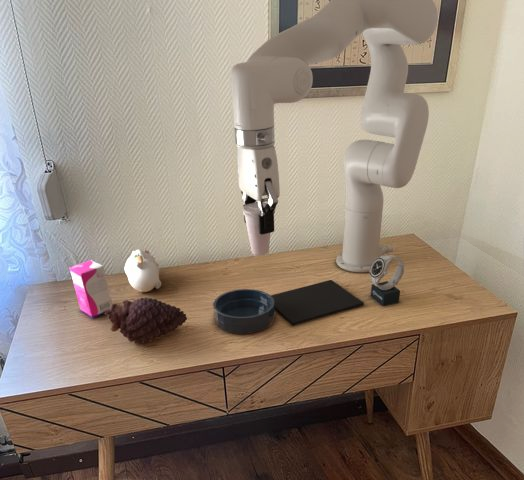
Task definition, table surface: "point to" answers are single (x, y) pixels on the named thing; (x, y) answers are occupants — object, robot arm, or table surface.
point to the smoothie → (256, 230)
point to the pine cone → (145, 319)
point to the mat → (314, 302)
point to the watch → (386, 290)
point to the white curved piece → (142, 271)
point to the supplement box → (91, 288)
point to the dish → (244, 311)
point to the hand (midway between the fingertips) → (259, 226)
